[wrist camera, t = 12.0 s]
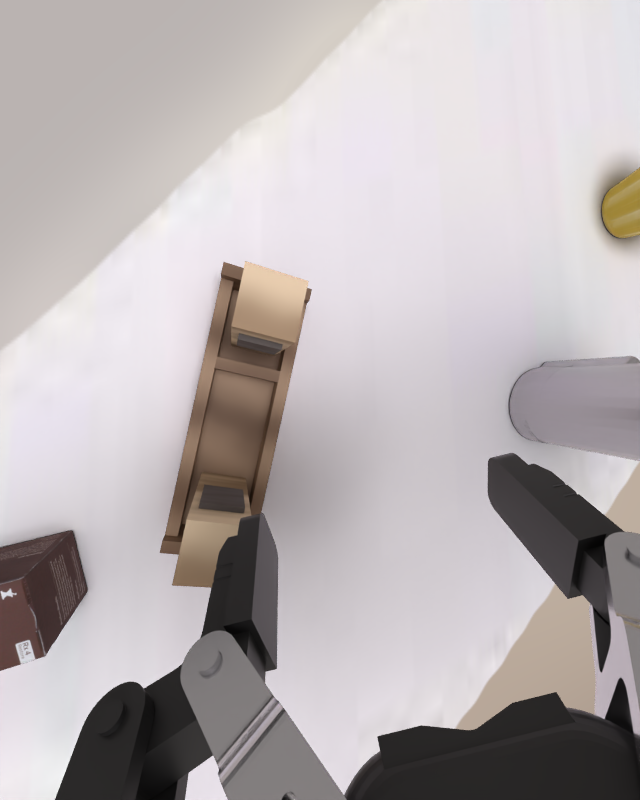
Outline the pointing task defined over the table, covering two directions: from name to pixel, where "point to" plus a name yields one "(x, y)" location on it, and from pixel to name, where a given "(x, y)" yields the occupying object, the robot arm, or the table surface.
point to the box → (37, 595)
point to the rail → (226, 442)
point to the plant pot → (623, 207)
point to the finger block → (267, 310)
